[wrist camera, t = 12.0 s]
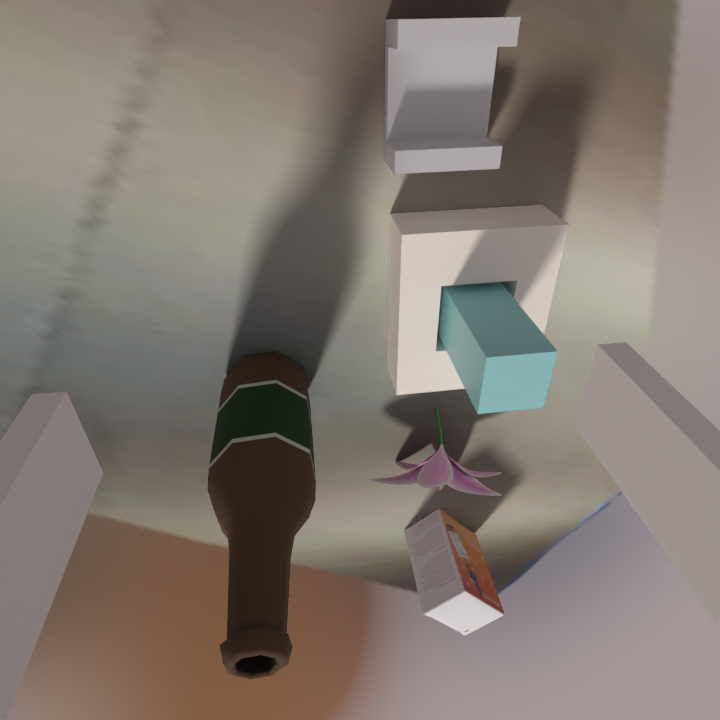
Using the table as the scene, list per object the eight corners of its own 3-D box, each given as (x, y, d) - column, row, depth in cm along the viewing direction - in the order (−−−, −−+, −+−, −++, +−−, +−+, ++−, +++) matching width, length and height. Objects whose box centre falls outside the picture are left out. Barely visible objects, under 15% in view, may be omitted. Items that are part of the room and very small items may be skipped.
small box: (475, 532, 62) (506, 615, 53) (440, 554, 64) (465, 637, 55) (439, 506, 58) (466, 590, 50) (402, 529, 60) (422, 615, 51)
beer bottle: (320, 357, 44) (350, 629, 24) (299, 422, 48) (310, 701, 28) (231, 340, 42) (186, 624, 22) (216, 409, 46) (168, 701, 26)
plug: (436, 273, 40) (486, 357, 30) (490, 269, 40) (557, 351, 30) (432, 322, 42) (477, 414, 32) (483, 318, 43) (543, 407, 33)
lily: (348, 427, 51) (362, 524, 47) (430, 383, 43) (455, 495, 39) (428, 435, 58) (446, 520, 54) (511, 399, 50) (539, 495, 46)
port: (390, 213, 37) (402, 236, 34) (541, 204, 38) (570, 225, 35) (387, 364, 45) (396, 396, 42) (513, 353, 46) (533, 383, 43)
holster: (385, 19, 30) (398, 19, 27) (495, 17, 31) (520, 17, 28) (384, 159, 35) (394, 174, 32) (479, 155, 36) (499, 168, 32)
